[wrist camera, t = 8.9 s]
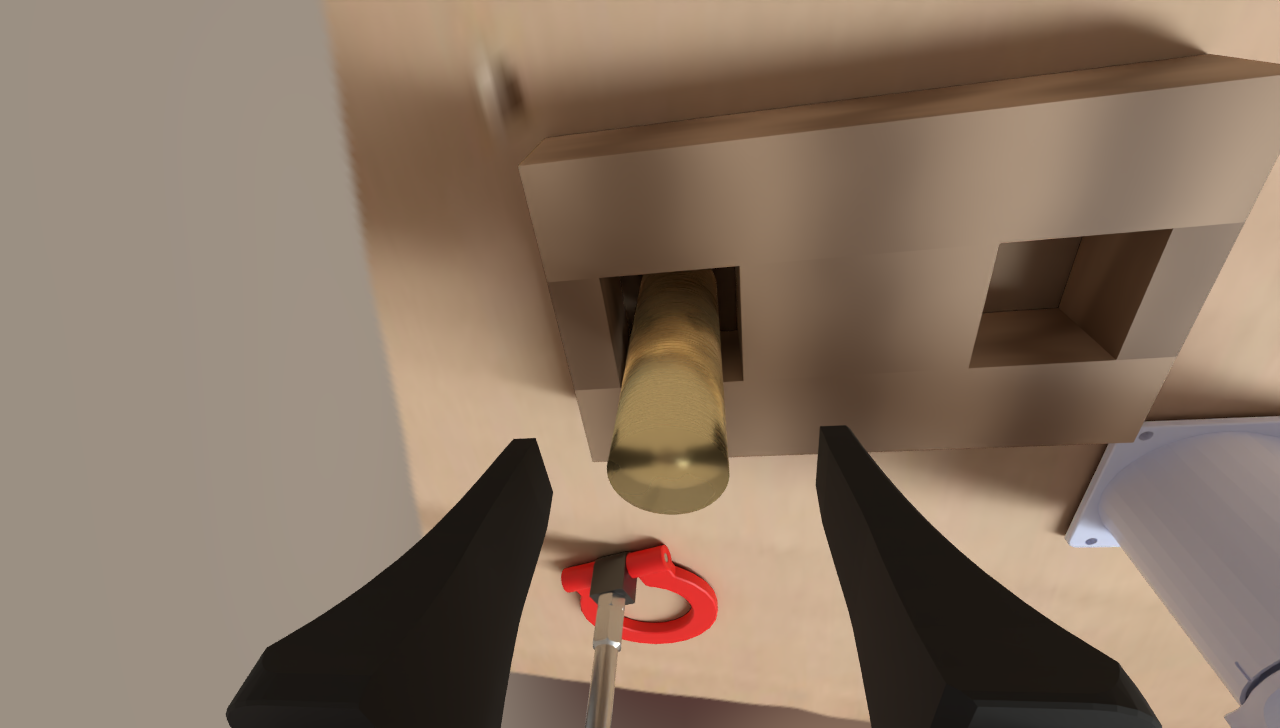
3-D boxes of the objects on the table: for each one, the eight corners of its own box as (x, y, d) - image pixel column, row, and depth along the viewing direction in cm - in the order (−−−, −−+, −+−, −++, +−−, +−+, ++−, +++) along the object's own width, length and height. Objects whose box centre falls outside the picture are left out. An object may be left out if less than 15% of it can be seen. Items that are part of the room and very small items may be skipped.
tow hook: (736, 614, 35) (676, 533, 30) (757, 888, 25) (671, 832, 20) (622, 635, 38) (550, 564, 33) (598, 890, 28) (489, 841, 23)
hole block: (1209, 53, 16) (1322, 70, 13) (1078, 384, 23) (1133, 442, 20) (545, 138, 19) (517, 166, 16) (604, 408, 25) (592, 462, 23)
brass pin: (712, 247, 20) (722, 422, 12) (720, 316, 22) (734, 511, 14) (634, 258, 21) (594, 433, 13) (647, 324, 23) (620, 517, 14)
